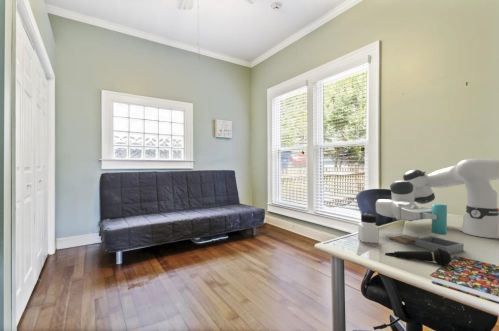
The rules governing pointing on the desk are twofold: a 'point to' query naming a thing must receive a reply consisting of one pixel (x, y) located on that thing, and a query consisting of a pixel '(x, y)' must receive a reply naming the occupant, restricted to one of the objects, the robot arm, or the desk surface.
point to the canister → (439, 219)
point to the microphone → (425, 256)
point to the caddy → (439, 244)
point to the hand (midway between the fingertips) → (441, 216)
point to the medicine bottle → (368, 229)
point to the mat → (403, 239)
